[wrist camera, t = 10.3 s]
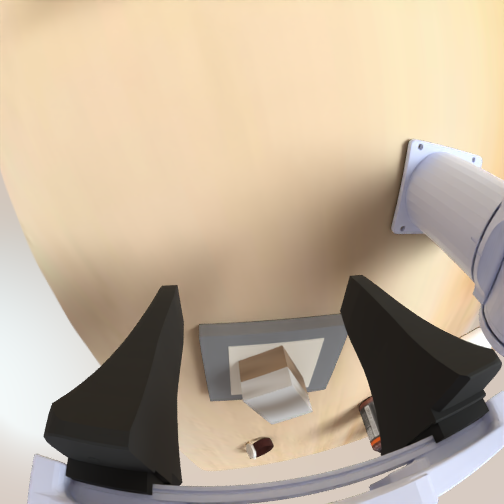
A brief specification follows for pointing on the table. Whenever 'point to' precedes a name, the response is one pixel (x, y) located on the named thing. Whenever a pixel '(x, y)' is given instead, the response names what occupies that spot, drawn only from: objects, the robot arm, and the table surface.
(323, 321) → the stand
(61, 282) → the table surface
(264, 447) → the watch
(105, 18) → the table surface
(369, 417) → the supplement bottle
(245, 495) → the robot arm
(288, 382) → the block
